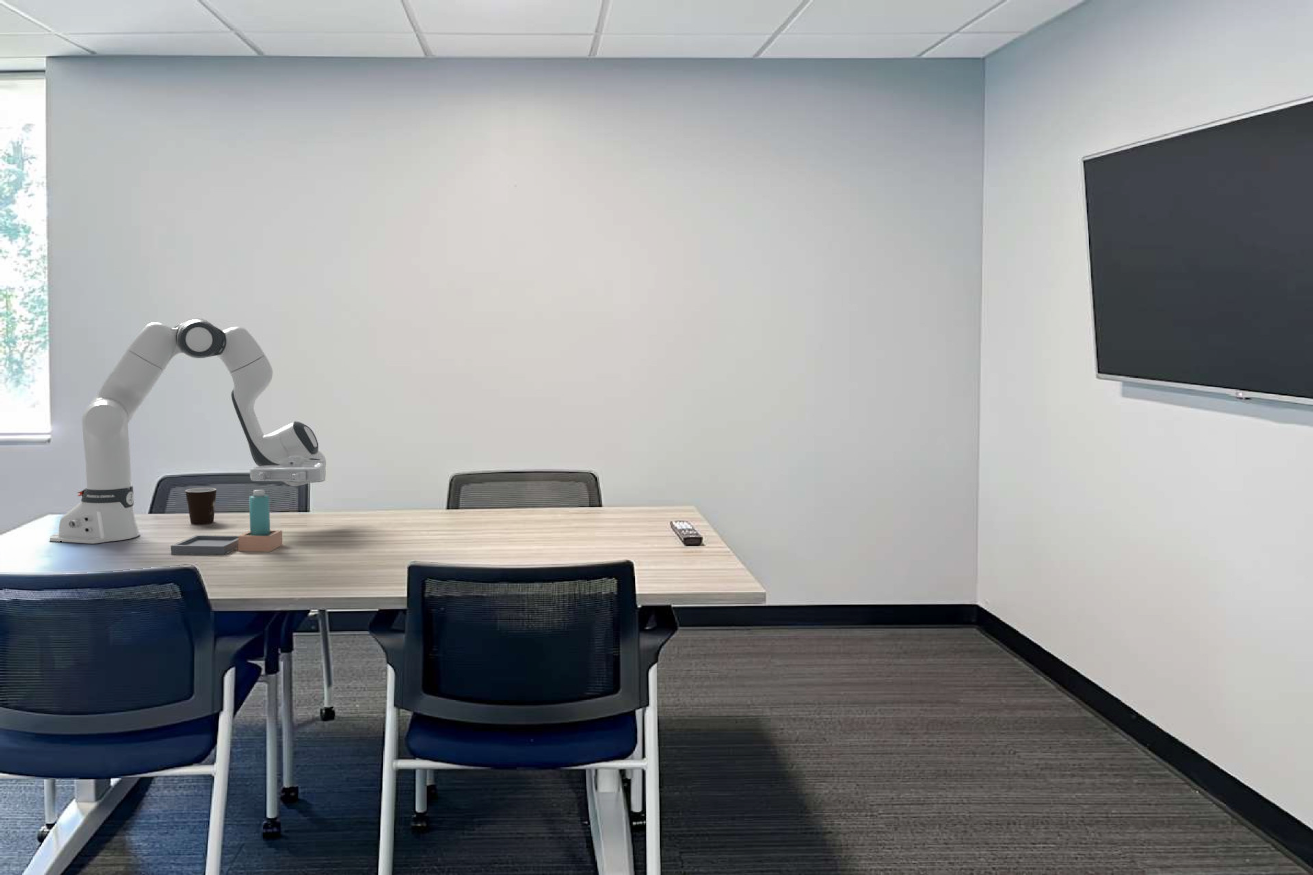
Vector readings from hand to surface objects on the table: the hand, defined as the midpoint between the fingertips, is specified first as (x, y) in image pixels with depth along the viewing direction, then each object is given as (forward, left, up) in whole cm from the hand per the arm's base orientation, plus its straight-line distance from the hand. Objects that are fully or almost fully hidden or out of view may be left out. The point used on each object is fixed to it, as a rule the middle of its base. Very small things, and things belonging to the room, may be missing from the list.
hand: (277, 477), depth 294 cm
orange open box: (0, -12, -17) cm, 21 cm away
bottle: (0, -12, -17) cm, 21 cm away
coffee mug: (-32, +24, -18) cm, 44 cm away
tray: (-13, -14, -17) cm, 26 cm away
